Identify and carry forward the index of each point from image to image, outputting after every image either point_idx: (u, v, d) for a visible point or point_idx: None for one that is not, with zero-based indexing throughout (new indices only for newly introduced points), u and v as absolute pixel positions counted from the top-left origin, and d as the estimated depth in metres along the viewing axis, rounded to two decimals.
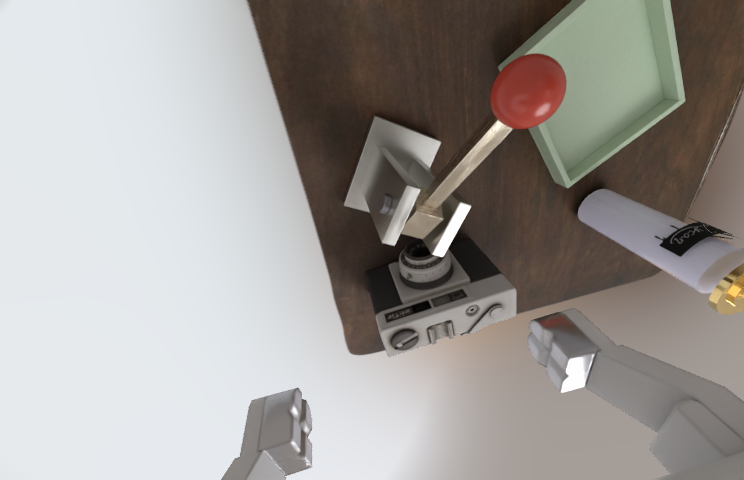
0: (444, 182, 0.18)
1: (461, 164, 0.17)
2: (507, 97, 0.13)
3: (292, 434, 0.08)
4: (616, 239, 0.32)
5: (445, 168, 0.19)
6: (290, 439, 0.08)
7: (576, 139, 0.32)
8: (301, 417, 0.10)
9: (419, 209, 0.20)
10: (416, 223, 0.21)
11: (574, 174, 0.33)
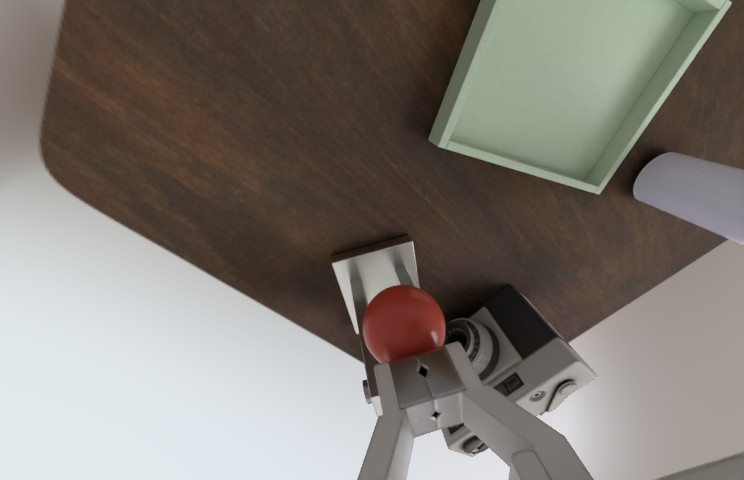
0: None
1: None
2: (378, 361, 0.11)
3: (430, 393, 0.08)
4: None
5: None
6: (430, 397, 0.08)
7: (580, 137, 0.23)
8: None
9: None
10: None
11: (600, 174, 0.24)
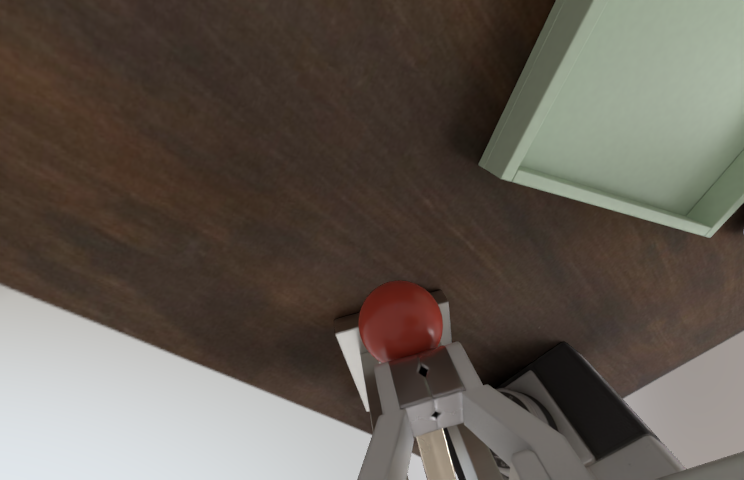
0: (428, 477, 0.12)
1: (420, 439, 0.11)
2: (370, 347, 0.10)
3: (430, 393, 0.08)
4: None
5: None
6: (431, 397, 0.08)
7: (692, 159, 0.16)
8: None
9: None
10: None
11: (714, 210, 0.17)
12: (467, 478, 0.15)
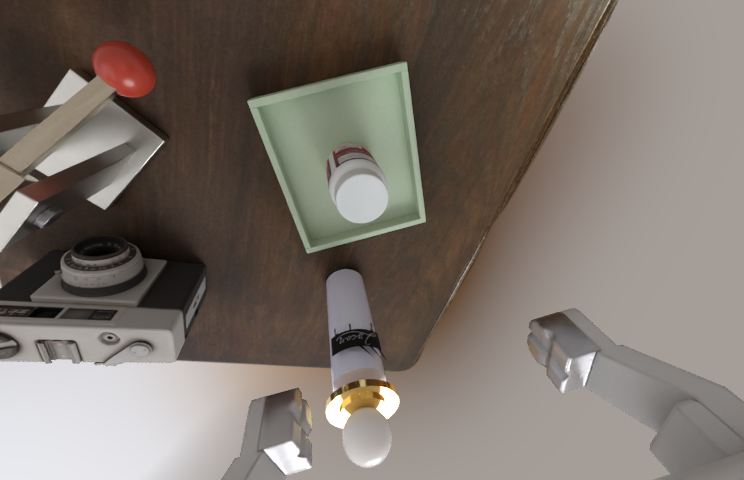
0: (34, 129, 0.17)
1: (59, 110, 0.18)
2: (99, 48, 0.18)
3: (292, 434, 0.08)
4: (328, 320, 0.32)
5: None
6: (290, 439, 0.08)
7: (329, 210, 0.31)
8: (301, 417, 0.10)
9: None
10: None
11: (318, 243, 0.32)
12: None
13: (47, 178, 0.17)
